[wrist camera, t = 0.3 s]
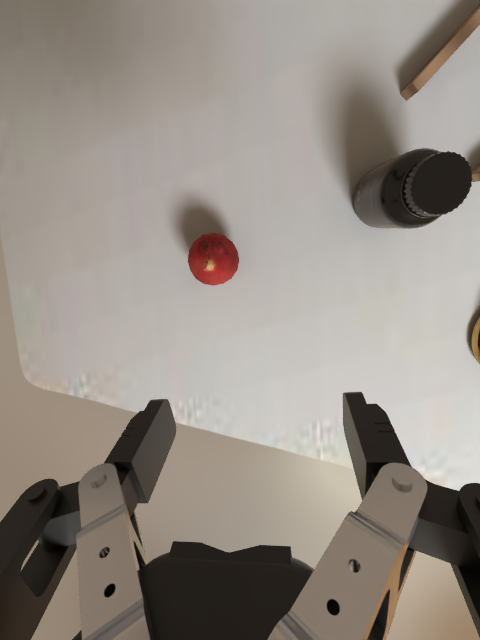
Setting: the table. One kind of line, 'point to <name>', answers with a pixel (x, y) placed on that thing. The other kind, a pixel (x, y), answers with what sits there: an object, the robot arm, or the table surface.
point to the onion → (213, 259)
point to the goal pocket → (440, 58)
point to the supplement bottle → (412, 189)
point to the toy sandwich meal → (476, 340)
